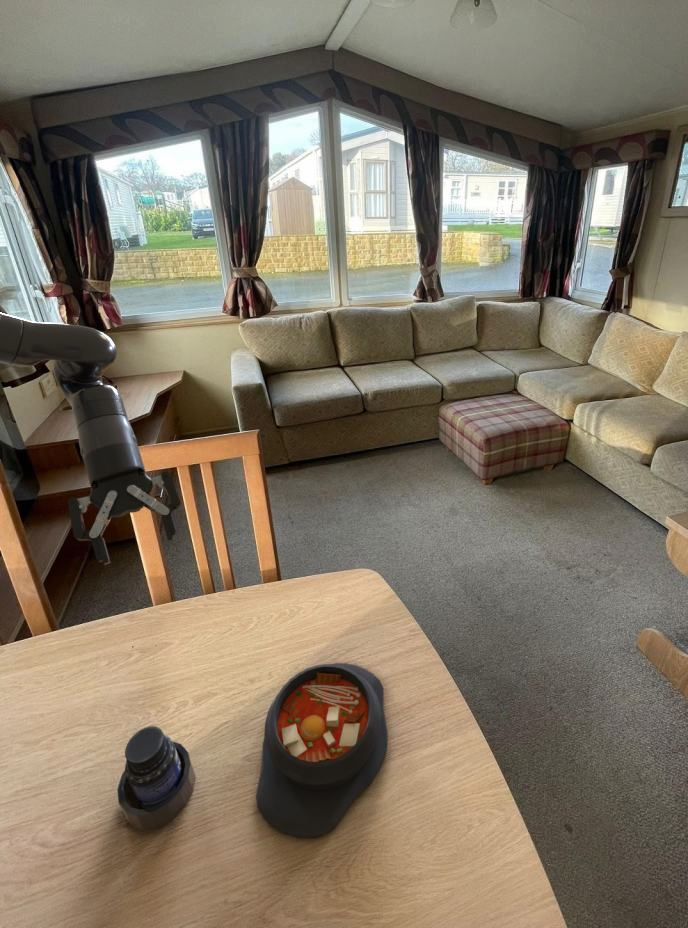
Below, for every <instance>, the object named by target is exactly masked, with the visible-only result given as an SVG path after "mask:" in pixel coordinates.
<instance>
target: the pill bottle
mask: <svg viewBox="0 0 688 928" xmlns="http://www.w3.org/2000/svg"><path fill="white" fill-rule="evenodd" d="M173 742H174V741H173V739H171V737H170V736H168V735H166V734H165V733H164V731H163V730H162V729H161V728H160V727H159V726H155V725H149V726H146V727H143V728H141V729H140V730H137V731H136V732H135V733H134V734H133V735H132V736H131V737H130V739H129V740H128V742H127V744H126V746H125V749H124V756H125V759H126V761H125V765H124V771H125V773H126V776H127V779H128V781H129V783H130V785H131V788H132V790H133V792H132V793H133V795H134V797H135V798H136V801H137V803H138V805H139V807H140V810H141V809H146V808H152V807H154V806H156V805H158V804H160V803H161V802H163V801H165V800H166V799H167V798H168V797H169V796H170V795H171V794H172V793H173V792H174V791H175V790H176V788H177V787H178V785H179V783H180V781H181V779H182V778H183V774H184V768H183V764H182V763H181V762H180V759H179V757H178V754H177V751H176V748H175V746H174V743H173Z"/></svg>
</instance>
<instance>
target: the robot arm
mask: <svg viewBox="0 0 688 928" xmlns="http://www.w3.org/2000/svg"><path fill="white" fill-rule="evenodd" d="M117 356H118V350H117V346H116V344H115V342H114V341H113V340H112V339H111V338H110V337H109V336H108V335H107V334H105V333H104V332H102V331H100V330H97V329H96V328H93V327H89V326H85V325H78V324H69V323H68V324H67V323H56V322H39V321H38V322H37V321H30V320H27V319H24V318H20V317H17V316H13V315H9V314H6V313H2V312H0V364H3V365H4V364H5V365H9V366H12V367H13V366H14V367H18V368H31V367H34V366H36V365H38V364H39V363H41V362H44V361H52V371H53V372H52V373H53V377H54V379H55V381H56V383H57V385H58V387H59V389H60V391H61V392H62V394H63V396H64V397H65V400H67V403H69V405H70V406H71V412H72V415H73V419H74V422H75V427H76V430H77V436H78V444H79V449H80V450H79V451H80V456H82V461H83V463H84V467H85V471H86V475H87V479H88V482H89V483H88V484H89V487H90V494H89V495H88V496H84V497H79V498H76V497H71V498H69V499H68V500H67V506H68V512H69V517H70V524H71V529H72V536H73V537H74V538H75V539H76V540H77V541H78V542H83V541H90V542H91V544H92V548H93V551H94V554H95V555H94V556H95V559H96V560H97V561H98V562H99V563H103V565H104V566H107V565H110V564H111V559H110V555H109V551H108V548H107V544H106V541H105V538H104V537H103V534H104V532H105V530H106V528H107V527H108V526H109V524H110V522H111V519H112V518H121V517H124V516H126V515H128V514H132V513H133V514H134V513H137V512H140V511H141V510H142V509H143V508H146V509H147V510H149V511H151V512H152V513H154V514H156V515H158V516H160V520H161V524H162V527H163V531H164V535H165V537H166V540H167V544H168V543H171V542H173V541H174V539H173V538H174V537H176V534H177V531H176V527H175V524H174V521H173V517H172V516H173V514H174V513H175V512H176V511H178V510H179V511H180V509H181V505H182V503H181V500H180V497H179V494H178V492H177V489H176V487H175V484H174V481H173V479H172V476H171V474H170V472H169V471H167V470H165V471H162V472H161V474H160V475H157V476H156V475H155V476H154V477H149V476H148V475H147V472H146V469H145V465H144V462H143V458H142V455H141V452H140V449H139V445H138V440H137V439H138V438H137V437H136V435H135V432H134V430H133V427H132V425H131V423H130V420H129V418H128V415H127V411H126V408H125V405H124V400H123V398H122V396H121V394H120V392H119V390H118V389H117V388H116V387H114V386H112V385H110V384H104V382H103V375H104V374H106V373H105V372H106V371H108V369H109V368H110V367H111V366H112V365H113V363H115V360H116V359H117ZM154 486H157V487H158V488H159V489H160V490H164V491H165V492H166V495H167V497H168V500H169V504H167V505H164V504H163V503H161V502H159V501H158V500H157V499H156V498H154V497H152V496H151V495H150V494H151V492H152V489H153V487H154ZM91 504H92V505H93V506H94V507H95V508H97V509H99V511H98V513H97V515H96V517H95V520H94V523H93V525H92V527H91V528H90V529H87V530H86V525H85V521H84V517H83V514H85V513H86V512H87V511H88V507H89V505H91Z"/></svg>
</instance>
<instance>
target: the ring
mask: <svg viewBox="0 0 688 928" xmlns="http://www.w3.org/2000/svg"><path fill="white" fill-rule="evenodd" d="M173 743H174V746H175V748H176V751H177V754H178V757H179V759H180V762H181V765H182V766H184V768H183V770H184V774H183V778H182V779H181V781H180V783H179V785H178V787H177V788H176V790H175V791H174V792H173V793H172V794H171V795H170V796H169V797H168V798H167V799H166V800H165V801H163V802H161V803H160V804H158V805H156V806H154V807H152V808H146V809H141V808H137V807H133V806H131V801H132V796H133V793H134V792H133V790H132V788H131V785H130V783H129V781H128V779H127V776H126V773H125V770H123V772H122V773H121V776H120V779H119V782H118V786H117V797H118V798H117V800H118V805H119V806H120V808H121V810H122V813H123V815H124V817H125V819H126V820H127V822H128V823H129V824H130V826H131V827H132V828H135V829H138V830H140V831H150V830H156V829H159V828H161V827H163V826H165V825H166V824H168V823H171V821H173V820H174V819H176V818H177V816H178V815H179V814H180V813H181V812H182V811H183V810H184V809H185V808H186V806H187V804H188V802H189V800H190V799H191V797H192V795H193V793H194V789H195V783H196V773H195V768H194V765H193V762H192V759H191V755H190V752H189V750H188V749H186V747H185V746H183V744H182V743H180V742H176V741H173Z"/></svg>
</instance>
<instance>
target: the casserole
mask: <svg viewBox="0 0 688 928" xmlns="http://www.w3.org/2000/svg"><path fill="white" fill-rule="evenodd" d="M384 690H385V689H384V686H383V684H382V682H381V680H380V679H379V678H378V677H377V676H376V675H375V674H374V673H373V672H371V671H369V669H366V668H364V667H363V666H362V667H361V666H359V665H356V664H351V663H347V662H345V663H344V662H335V663H323V664H316V665H314V666H310V667H308V668H305V669H303V670H302V671H300V672H298V673H296V674H295V675H294V676H292V677H291V678H290V679H289V680H287V681H286V683H285V684H284V685H283V686H282V687H281V688H280V690H279V691H278V693H277V694H276V696H275V697H274V699H273V700H272V701H271V704H270V706H269V709H268V710H267V713H266V718H265V722H264V733H263V735H264V736H263V741H262V754H261V756H262V757H261V771H260V776H259V780H258V784H257V789H256V795H255V798H256V805H257V809H258V810H259V812H260V814H261V815H262V817H263V819H264V820H266V822H267V823H268V824H269V825H271V826H272V828H274V829H276V830H278V831H279V832H281V833H283V834H284V835H288V836H292V837H296V838H302V839H303V838H305V839H313V838H317V837H321V836H323V837H324V836H325V835H326V834H328V833H329V832H331V831H333V830H334V829H335V828H336V826H337V825H338V824H339V822H340V821H341V820H342V818H343V817H344V815H345V814H346V812H347V811H348V809H349V808H350V807H351V805H352V803H353V802H354V801H355V800H356V799H357V798H359V796H361V794H362V793H363V792H364V791H365V790H366V789H367V788H368V787H370V785H371V784H372V783H373V782H374V779H376V777H377V775H378V774H379V772H380V770H381V768H382V765H383V763H384V761H385V758H386V753H387V749H388V740H389V739H388V736H389V735H388V734H389V733H388V732H389V731H388V725H387V720H386V715H385V710H384Z"/></svg>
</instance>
